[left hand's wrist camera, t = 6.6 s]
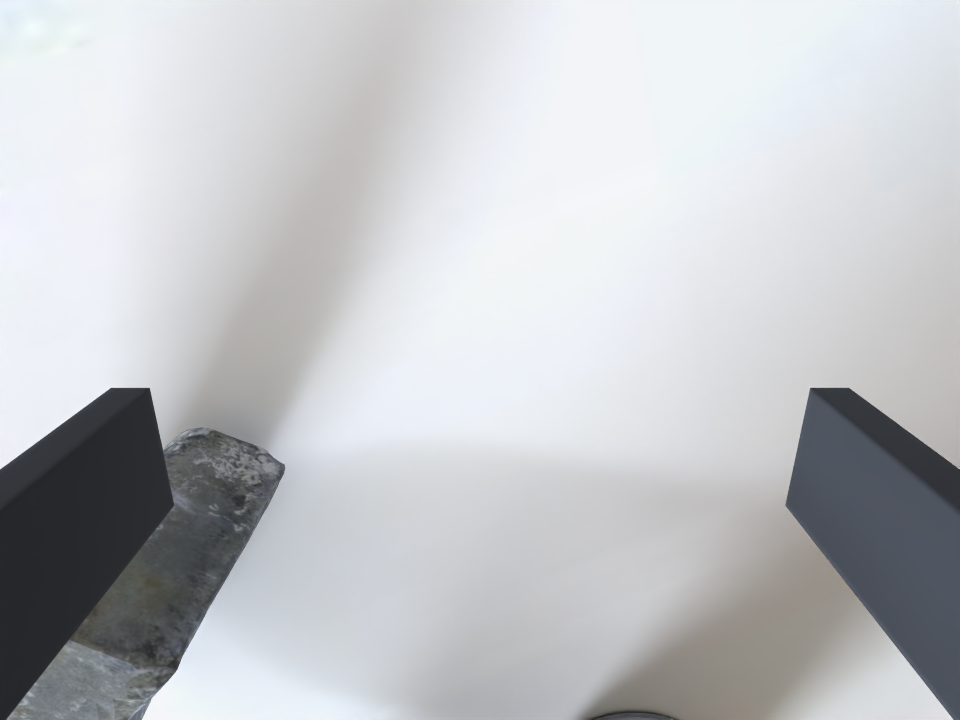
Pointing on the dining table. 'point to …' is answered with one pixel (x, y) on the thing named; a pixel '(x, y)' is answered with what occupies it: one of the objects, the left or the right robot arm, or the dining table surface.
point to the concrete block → (161, 585)
